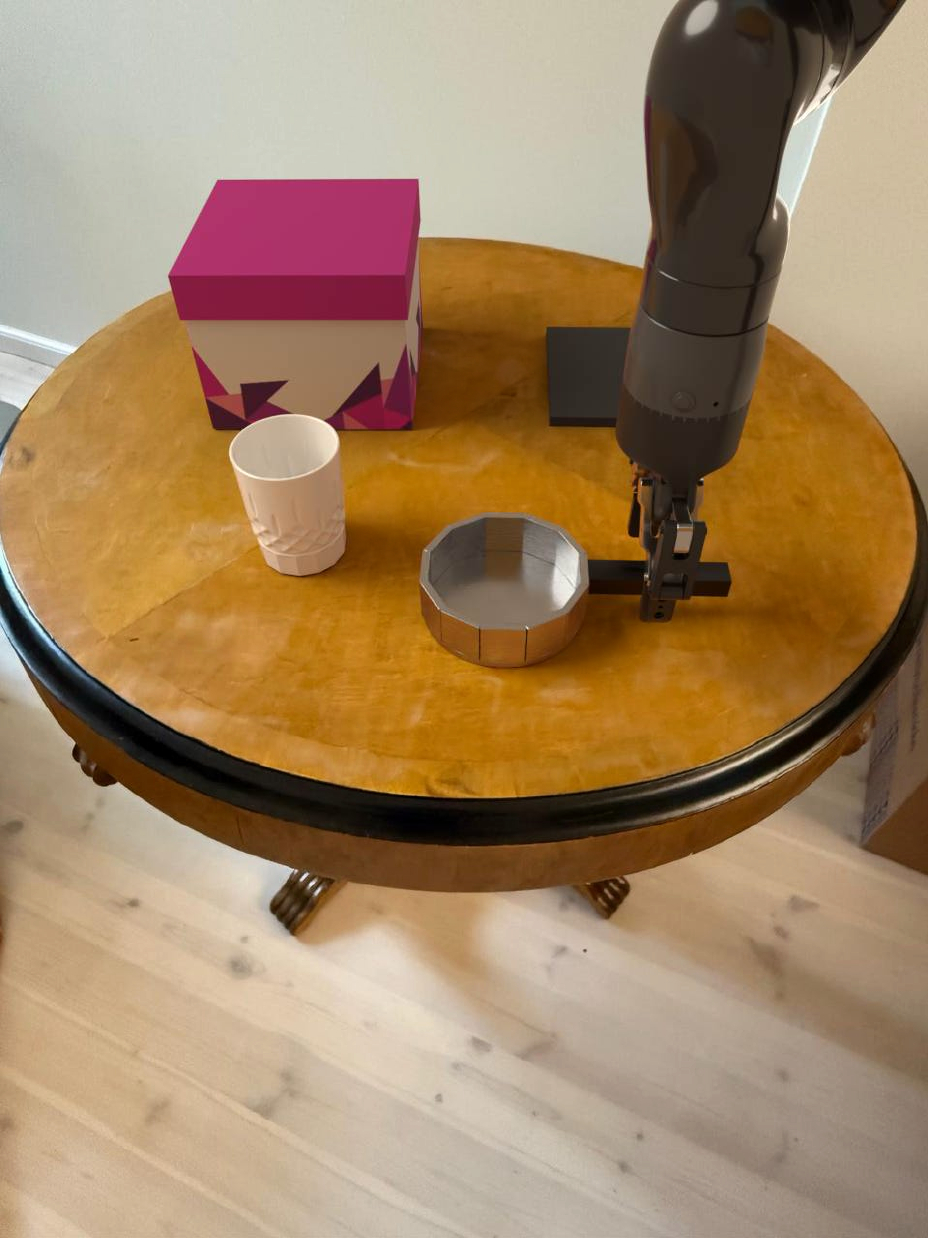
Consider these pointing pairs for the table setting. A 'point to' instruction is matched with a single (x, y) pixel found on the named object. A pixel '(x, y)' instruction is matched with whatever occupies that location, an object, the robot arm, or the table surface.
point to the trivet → (585, 374)
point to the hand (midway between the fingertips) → (647, 574)
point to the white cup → (292, 491)
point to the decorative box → (305, 300)
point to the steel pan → (522, 587)
